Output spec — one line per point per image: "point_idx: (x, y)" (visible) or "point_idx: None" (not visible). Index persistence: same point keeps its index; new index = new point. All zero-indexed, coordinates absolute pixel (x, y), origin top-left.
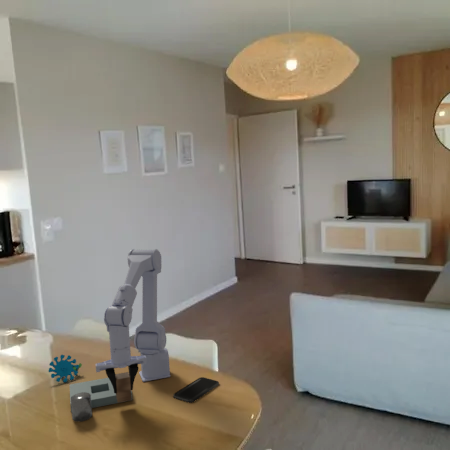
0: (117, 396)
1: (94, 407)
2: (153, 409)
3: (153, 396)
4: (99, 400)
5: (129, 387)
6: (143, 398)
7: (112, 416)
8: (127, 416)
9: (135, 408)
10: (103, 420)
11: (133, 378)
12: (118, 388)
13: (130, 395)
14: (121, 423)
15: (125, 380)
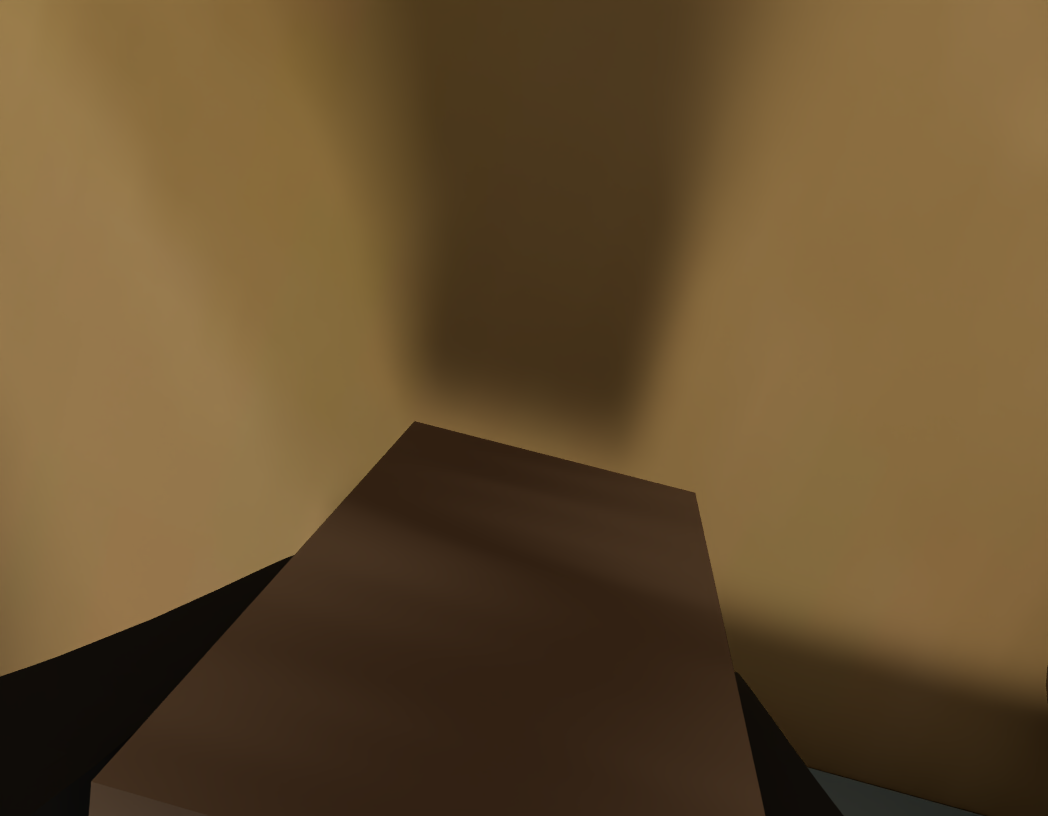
0: (705, 552)
1: (921, 800)
2: (157, 156)
3: (54, 547)
4: None
5: (342, 554)
6: (199, 586)
7: (817, 367)
8: (607, 204)
9: (400, 377)
10: (1005, 334)
11: (15, 697)
12: (679, 661)
13: (402, 459)
14: (796, 21)
15: (367, 758)
